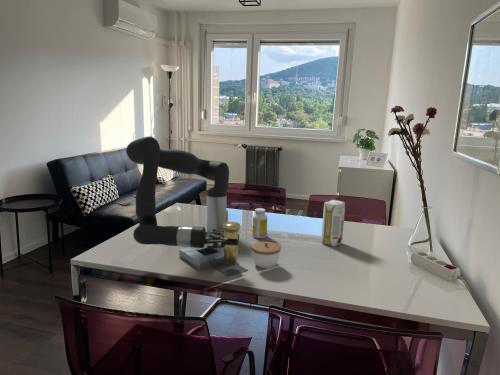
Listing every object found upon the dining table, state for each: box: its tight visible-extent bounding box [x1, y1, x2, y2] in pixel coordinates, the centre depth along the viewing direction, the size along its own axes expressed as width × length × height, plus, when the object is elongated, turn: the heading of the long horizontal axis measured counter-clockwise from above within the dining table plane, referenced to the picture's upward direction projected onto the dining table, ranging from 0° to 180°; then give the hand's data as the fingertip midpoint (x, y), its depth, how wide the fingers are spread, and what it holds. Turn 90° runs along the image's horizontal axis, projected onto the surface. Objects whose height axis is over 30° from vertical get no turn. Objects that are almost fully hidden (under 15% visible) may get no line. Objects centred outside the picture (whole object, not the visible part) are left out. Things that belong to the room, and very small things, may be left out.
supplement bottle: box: [252, 207, 268, 239], centre depth 173 cm, size 7×7×13 cm
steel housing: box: [178, 244, 225, 272], centre depth 146 cm, size 16×16×4 cm
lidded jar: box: [251, 241, 281, 270], centre depth 141 cm, size 11×11×9 cm
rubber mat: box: [213, 263, 249, 278], centre depth 138 cm, size 9×9×1 cm
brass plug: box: [223, 221, 241, 265], centre depth 135 cm, size 6×6×14 cm
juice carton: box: [321, 199, 346, 247], centre depth 166 cm, size 8×9×19 cm
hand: (238, 239), depth 135 cm, fingers closed on brass plug, 5 cm apart
